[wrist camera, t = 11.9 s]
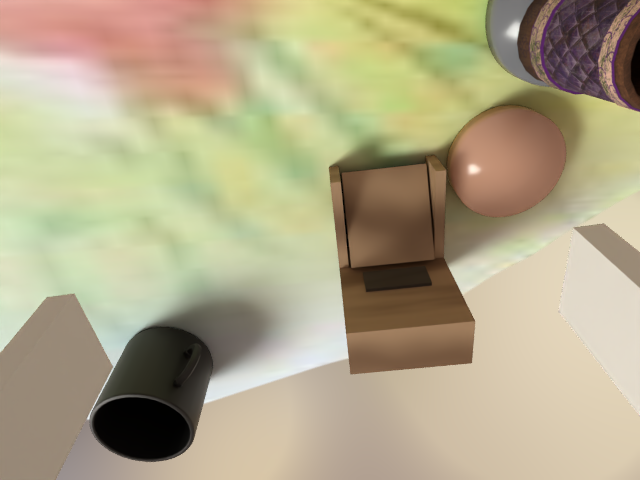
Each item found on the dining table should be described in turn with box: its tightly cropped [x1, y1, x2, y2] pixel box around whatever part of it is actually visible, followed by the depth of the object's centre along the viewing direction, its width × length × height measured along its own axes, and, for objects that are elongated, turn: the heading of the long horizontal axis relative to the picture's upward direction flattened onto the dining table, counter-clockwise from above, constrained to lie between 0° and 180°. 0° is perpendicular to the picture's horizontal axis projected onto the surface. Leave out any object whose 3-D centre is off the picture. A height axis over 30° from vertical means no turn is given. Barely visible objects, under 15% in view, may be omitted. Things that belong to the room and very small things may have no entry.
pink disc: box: [447, 105, 566, 217], centre depth 36 cm, size 9×9×2 cm
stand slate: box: [486, 0, 550, 87], centre depth 31 cm, size 10×10×2 cm
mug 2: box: [517, 0, 640, 112], centre depth 25 cm, size 10×7×12 cm
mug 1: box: [90, 327, 213, 462], centre depth 44 cm, size 9×12×9 cm
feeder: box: [329, 155, 475, 374], centre depth 35 cm, size 12×9×12 cm
